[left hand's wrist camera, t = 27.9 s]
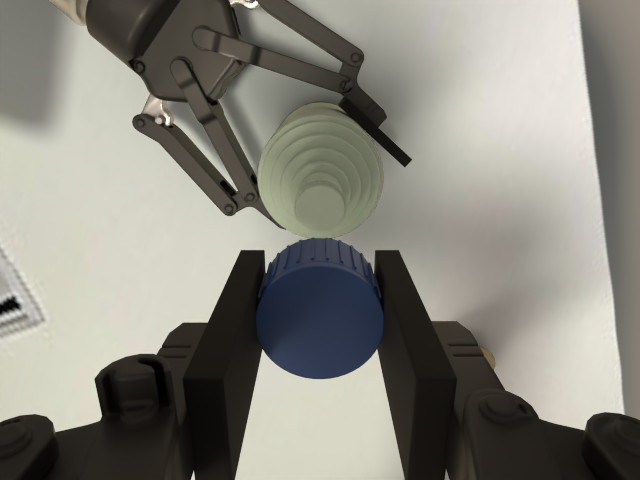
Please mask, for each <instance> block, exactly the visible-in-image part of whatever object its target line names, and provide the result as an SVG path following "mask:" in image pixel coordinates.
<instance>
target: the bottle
mask: <svg viewBox="0 0 640 480" xmlns="http://www.w3.org/2000/svg"><path fill="white" fill-rule="evenodd" d="M257 181H258V189H259V193H260V196H261V199H262V202H263V204H264V206H265V208H266V209H267V211H268V212H269V214H270V215H271V216H272V217H273V218H274V220H275V221H276V222H278V223H279V224H280V225H281V226H282V227H284V228H285V229H287V230H288V231H290V232H292V233H294V234H297V235H300V236H302V237H307V238H313V237H315V238H326V237H327V238H334V237H338V236H341V235H344V234H346V233H349V232H350V231H352V230H354V229H356V228H357V227H358V226H360V225H361V224H362V223H363V222H364V221H365V220H366V219H367V218H368V217H369V216H370V214H371V213H372V212H373V210H374V209H375V207H376V205H377V203H378V201H379V198H380V195H381V192H382V187H383V166H382V162H381V158H380V156H379V153H378V151H377V149H376V147H375V145H374V144H373V142H372V141H371V139H370V138H369V137H368V135H367V134H366V133H365V132H364V130H363V129H362V128H361V126H360V125H359V124H357V123H356V122H355V121H354V120H353V119H352V118H351V117H350V116H349V115H348V114H347V113H346V112H344V111H343V110H342V109H341V108H340V107H339V106H337V105H334V104H330V103H324V102H316V103H310V104H307V105H304V106H302V107H300V108H298V109H296V110H295V111H293V112H292V113H291V114H290V115H289V116H288V117H287V118H286V119H285V120H284V122H283V123H282V124H281V126H280V127H279V128H278V130H277V131H276V132H275V134H274V135H273V136H272V137H271V139H270V140H269V142H268V143H267V145H266V146H265V148H264V150H263V152H262V155H261V158H260V161H259V165H258V173H257Z"/></svg>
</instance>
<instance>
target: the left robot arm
mask: <svg viewBox="0 0 640 480" xmlns="http://www.w3.org/2000/svg"><path fill="white" fill-rule="evenodd" d="M374 273H375V275H376V279H377V282H378V286H379V289H380V293H381V296H382V300H381V304H382V308H383V312H384V320H383V336H382V339H381V342H380V344H379V346H378V348H377V350H378V354H379V359H380V364H381V369H382V373H383V378H384V383H385V387H386V392H387V397H388V402H389V406H390V411H391V416H392V420H393V425H394V430H395V435H396V439H397V444H398V449H399V454H400V458H401V463H402V468H403V472H404V477H405V480H444V479H445V471H446V470H447V473H448V476H449V479H450V480H640V420H638V419H636V418H632V417H629V416H626V415H622V414H617V413H606V412H604V413H600V414H595V415H593V416H592V417H591V418H590V419H589V420H588V421H587V424H586V428H585V430H580V429H576V428H571V427H567V426H562V425H558V424H554V423H550V422H547V421H544V420H541V419H539V417H538V415H537V413H536V412H535V410H534V409H533V407H532V406H531V405H530V404H528V403H527V402H526V401H525V400H523V399H522V398H521V397H519V396H517V395H514V394H512V393H510V392H508V391H505V389H504V387H503V386H502V384H501V382H500V381H499V379H498V377H497V375H496V374H495V372H494V370H493V369H492V367H491V365H490V364H489V362H488V360H487V359H486V357H484V354H483V352H482V350H481V349H480V347H478V343H477V342H476V340H475V338H474V337H473V335H472V333H471V332H470V331H469V330H467V329H466V328H465V327H463V326H462V325H461V324H459V323H458V322H457V321H431V320H430V318H429V316H428V313H427V311H426V309H425V307H424V305H423V303H422V300H421V298H420V296H419V294H418V292H417V289H416V287H415V285H414V283H413V281H412V278H411V276H410V274H409V272H408V270H407V268H406V265H405V263H404V261H403V259H402V257H401V254H400V252H399V250H375V269H374ZM264 274H265V253H264V250H241V252H240V254H239V256H238V258H237V260H236V263H235V265H234V267H233V269H232V271H231V273H230V276H229V278H228V280H227V282H226V284H225V287H224V289H223V291H222V293H221V295H220V298H219V300H218V302H217V304H216V306H215V308H214V311H213V313H212V315H211V317H210V319H209V322H208V323H182V324H181V325H180V326H178V327H177V328H176V329H174V330H173V331H172V332H170V333H169V335H168V336H167V338H166V340H165V341H164V343H163V345H162V348H160V350H159V352H158V353H157V355H155V354H138V355H133V356H128V357H125V358H122V359H120V360H117V361H115V362H112V363H111V364H110V365H108V366H107V367H105V368H104V369H102V370H101V371H100V373H99V374H98V375H97V376H96V378H95V384H96V388H97V393H98V398H99V403H100V408H101V412H102V418H101V420H100V421H98V422H96V423H92V424H89V425H86V426H81V427H77V428H72V429H68V430H64V431H59V432H55V429H54V426H53V423H52V422H51V421H50V420H49V419H48V418H47V417H45V416H41V415H36V414H33V415H22V416H18V417H14V418H11V419H8V420H5V421H2V422H0V480H191V477H192V474H193V471H194V474H195V480H235V476H236V471H237V466H238V462H239V457H240V452H241V447H242V443H243V438H244V433H245V429H246V424H247V419H248V414H249V410H250V405H251V400H252V396H253V391H254V386H255V381H256V377H257V372H258V367H259V362H260V358H261V353H262V347H261V345H260V343H259V341H258V338H257V325H256V310H257V306H258V302H259V300H258V295H259V291H260V288H261V284H262V281H263V277H264Z"/></svg>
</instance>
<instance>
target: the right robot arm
mask: <svg viewBox="0 0 640 480" xmlns="http://www.w3.org/2000/svg"><path fill="white" fill-rule="evenodd" d="M49 1H50V2H51V3H53V4H54V5H55V6H56V7H57V8H59V9H60V10H61V11H62V12H63V13H64V14H66V15H67V16H68V17H69V18H70V19H71V20H73V21H74V22H75V23H76V24H78V25H81V26H87V29H88V32H89V33H90V35H91V36H92V37H93V38H95V39H96V40H97V41H98V42H99V43H101V44H102V45H103V46H104V47H105V48H107V49H108V50H109V51H110V52H112V53H113V54H114V55H115V56H116V57H118V58H119V59H120V60H121V61H122V62H124V63H125V64H126V65H127V66H128V67H130V68H131V69H132V70H133V71H134V72H136V73H137V74H138V75H139V76H140V77H141V78H142V80H143V81H144V83H145V85H146V87H147V89H148V91H149V92H150V95H149V98H148V100H147V102H146V104H145V107H144V109H143V111H142V113H141V114H139V115H136V116H135V117H134V118H133V121H132V123H133V126H134V128H135V129H136V130H138V131H139V132H141V133H143V134H145V135H146V136H148V137H150V138H152V139H153V140H155V141H157V142H158V143H160V145H161V146H162V147H163V148H164V149H165V150H166V151H167V152H168V153H169V154H170V155H171V157H172V158H173V159H174V160H175V161H176V162H177V163H178V164H179V165H180V166H181V167H182V169H183V170H184V171H185V172H186V173H187V174H188V175H189V176H190V177H191V178H192V180H193V181H194V182H195V183H196V184H197V185H198V186H199V187H200V188H201V189H202V190H203V192H204V193H205V194H206V195H207V196H208V197H209V198H210V199H211V200H212V201H213V202H214V204H215V205H216V206H217V207H218V208H219V209H220V210H221V211H222V212H223V213H224V214H225V215H227V216H232V215H234V214H235V213H236V212H238V211H240V210H241V209H243V208H245V207H254V208H256V209H257V210H258V211H259V212H261V213H262V214H263V215H264V216H266V217H267V218H268V219H270V220H271V221H272V222H273V223H274V224H276V225H277V226H278V227H279V228H282V229H285V228H284V227H282V226H281V225H280V224H279V223H278V222H276V221H275V220H274V218H273V217H272V216H271V215H270V214H269V212H268V211H267V209H266V208H265V206H264V204H263V202H262V199H261V196H260V193H259V189H258V181H257V177H256V175H255V173H254V171H253V169H252V167H251V165H250V164H249V162H248V160H247V158H246V156H245V154H244V152H243V150H242V148H241V146H240V144H239V142H238V141H237V139H236V137H235V135H234V133H233V131H232V129H231V127H230V125H229V123H228V121H227V119H226V118H225V115H224V112H223V109H222V107H221V105H220V103H219V101H218V99H220V98H221V97H222V95H223V94H224V93H225V91H226V89H227V86H228V84H229V81H230V80H231V79H233V78H234V77H235V76H237V75H238V74H239V73H240V72H241V70H242V69H243V68H244V66H245V65H244V63H245V62H246V63H249V64H252V65H256V66H259V67H262V68H265V69H268V70H271V71H274V72H277V73H280V74H283V75H286V76H289V77H292V78H295V79H298V80H301V81H304V82H307V83H310V84H313V85H316V86H319V87H322V88H326V89H329V90H332V91H335V92H338V93H340V94H342V95H343V96H344V98H343V99H342V100H341V101H340V103H339V104H338V105H339V107H340V108H341V109H342V110H343V111H344V112H346V113H347V114H348V115H349V116H350V117H351V118H352V119H353V120H354V121H355V122H356V123H357V124H359V125H360V126H361V127H362V128H363V129H364V130H365V131H366V132H367V133H368V134H369V135H370V136H371V137H373V138H374V139H375V140H376V141H377V142H378V143H379V144H380V145H381V146H382V147H383V148H384V149H386V150H387V151H388V152H389V153H390V154H391V155H392V156H393V157H394V158H395V159H396V160H397V161H399V162H400V163H401V164H402V165H403V166H404V167H406V166H407V165H408V163H409V162H410V161H411V160H412V159H411V158H410V157H409V156H408V155H407V154H405V153H404V152H403V151H402V150H401V149H400V148H399V147H398V146H397V145H396V144H395V143H394V142H393V141H392V140H391V139H389V138H388V137H387V136H386V135H385V134H384V133H383V132H382V131H381V130H380V129H379V128H378V127H379V126H380V124H381V123H382V122H383V121H384V120H385V119H386V118H387V116H386V114H385V112H384V110H383V109H382V108H381V107H380V106H379V105H378V104H377V103H376V102H374V101H373V100H372V99H371V98H370V97H369V96H368V95H367V94H366V93H365V92H364V91H363V90H362V89H361V88H360V87H359V86H358V84H357V75H358V72H359V70H360V67H361V65H362V63H363V61H364V54H363V52H362V51H361V50H360V49H359V48H357V47H356V46H354V45H353V44H351V43H350V42H348V41H347V40H345V39H344V38H342V37H341V36H339V35H338V34H336V33H335V32H333V31H332V30H330V29H329V28H327V27H326V26H324V25H323V24H321V23H320V22H318V21H317V20H315V19H314V18H312V17H311V16H309V15H308V14H306V13H305V12H303V11H302V10H300V9H299V8H297V7H296V6H294V5H293V4H291V3H290V2H288V1H287V0H49ZM236 5H244V6H245V7H247V8H248V9H250V10H256V9H257V8H259V7H260V6H261V7H262V8H263V9H264V10H265V11H266V12H267V13H269V14H270V15H271V16H273V17H274V18H276V19H277V20H279V21H280V22H282V23H283V24H285V25H286V26H288V27H289V28H291V29H292V30H294V31H296V32H297V33H299V34H300V35H302V36H303V37H305V38H306V39H308V40H309V41H311V42H312V43H314V44H315V45H317V46H318V47H320V48H321V49H323V50H324V51H326V52H327V53H329V54H331V55H332V56H334V57H335V58H337V59H338V60H340V61H341V62H343V64H342V67H341V69H340V72H339V73H336V72H333V71H330V70H327V69H324V68H321V67H318V66H315V65H312V64H309V63H306V62H303V61H300V60H297V59H294V58H291V57H288V56H285V55H282V54H279V53H276V52H273V51H270V50H267V49H264V48H261V47H258V46H255V45H252V44H249V43H246V42H243V41H242V37H241V33H240V29H239V26H238V22H237V18H236V14H235V10H234V7H235V6H236ZM167 101H175V102H185V103H189V105H190V107H191V109H192V110H193V112H194V114H195V116H196V118H197V119H198V121H199V122H200V123H201V124H202V125H203V127H204V128H205V130H206V132H207V134H208V136H209V138H210V140H211V141H212V143H213V145H214V147H215V149H216V151H217V152H218V154H219V156H220V158H221V160H222V162H223V163H224V165H225V167H226V169H227V171H228V173H229V175H230V176H231V178H232V180H233V182H234V184H235V186H236V187H237V189H238V191H237V192H236V190H235V189H234V188H233V187H232V186H231V185H230V184H229V183H228V181H227V180H226V179H225V178H224V177H223V176H222V175H221V174H220V172H219V171H218V170H217V169H216V168H215V167H214V166H213V165H212V163H211V162H210V161H209V160H208V159H207V158H206V157H205V155H204V154H203V153H202V152H201V151H200V150H199V149H198V148H197V146H196V145H195V144H194V143H193V142H192V141H191V140H190V139H189V137H188V136H187V135H186V134H185V133H184V132H183V131H182V130H181V129H180V128H179V127H178V126H176V125H175V124H174V123H173V122H174V117H173V115H172V114H171V113H170V112H169V111H168V109H167V107H166V102H167ZM285 230H286V229H285ZM311 239H312V238H311ZM328 239H332V238H328Z"/></svg>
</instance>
